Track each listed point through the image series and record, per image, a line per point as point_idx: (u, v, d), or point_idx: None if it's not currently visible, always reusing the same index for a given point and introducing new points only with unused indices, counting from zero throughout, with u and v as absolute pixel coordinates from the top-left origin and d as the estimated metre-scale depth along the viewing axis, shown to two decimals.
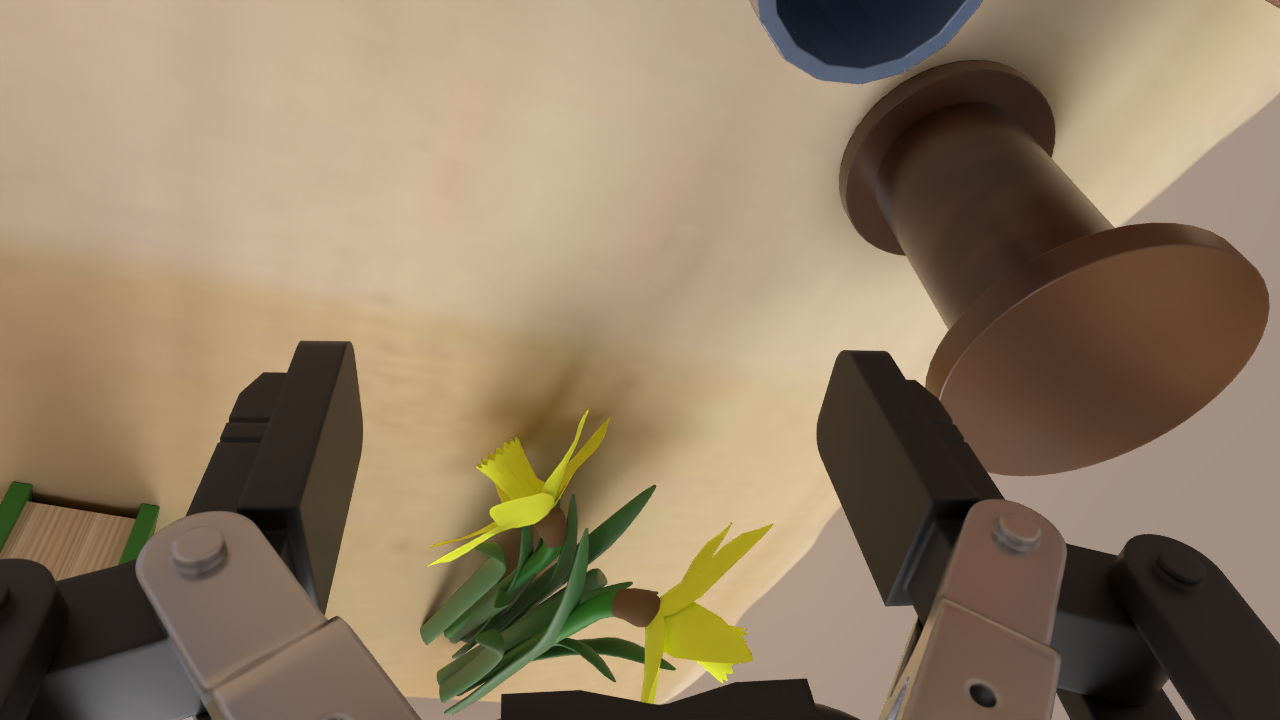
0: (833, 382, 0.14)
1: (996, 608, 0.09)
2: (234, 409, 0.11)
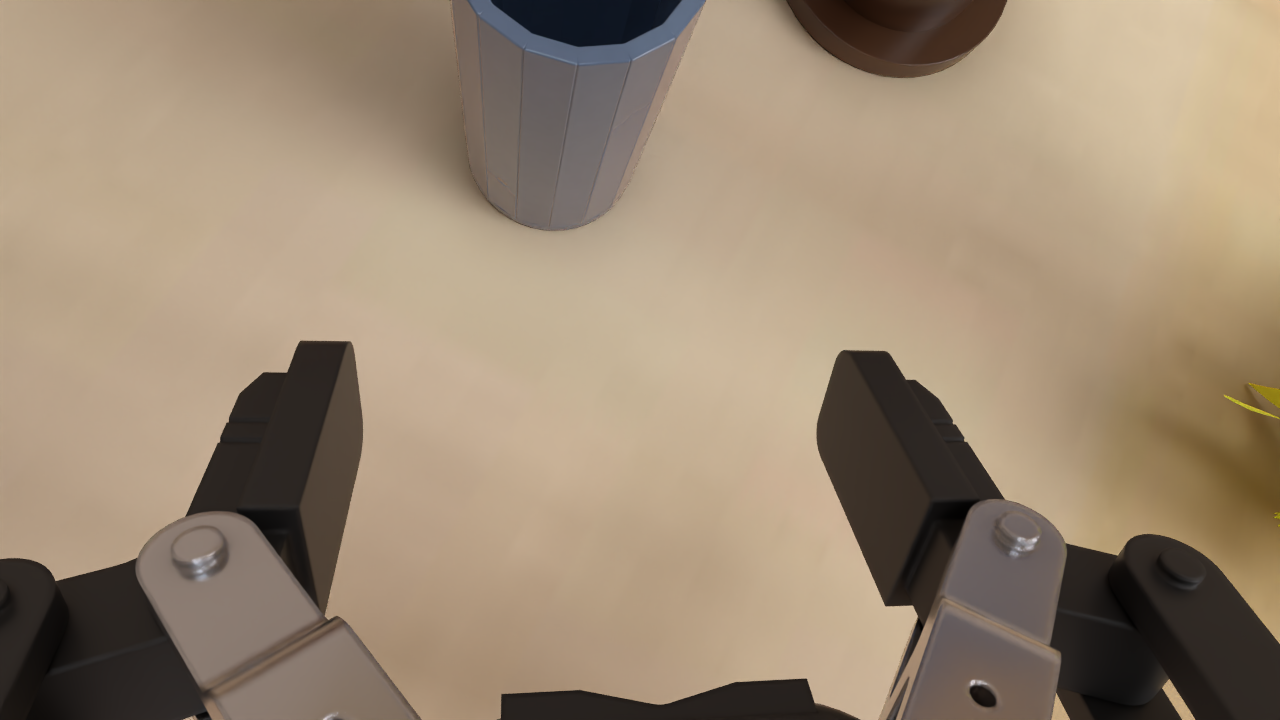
0: (833, 382, 0.14)
1: (996, 608, 0.09)
2: (234, 409, 0.11)
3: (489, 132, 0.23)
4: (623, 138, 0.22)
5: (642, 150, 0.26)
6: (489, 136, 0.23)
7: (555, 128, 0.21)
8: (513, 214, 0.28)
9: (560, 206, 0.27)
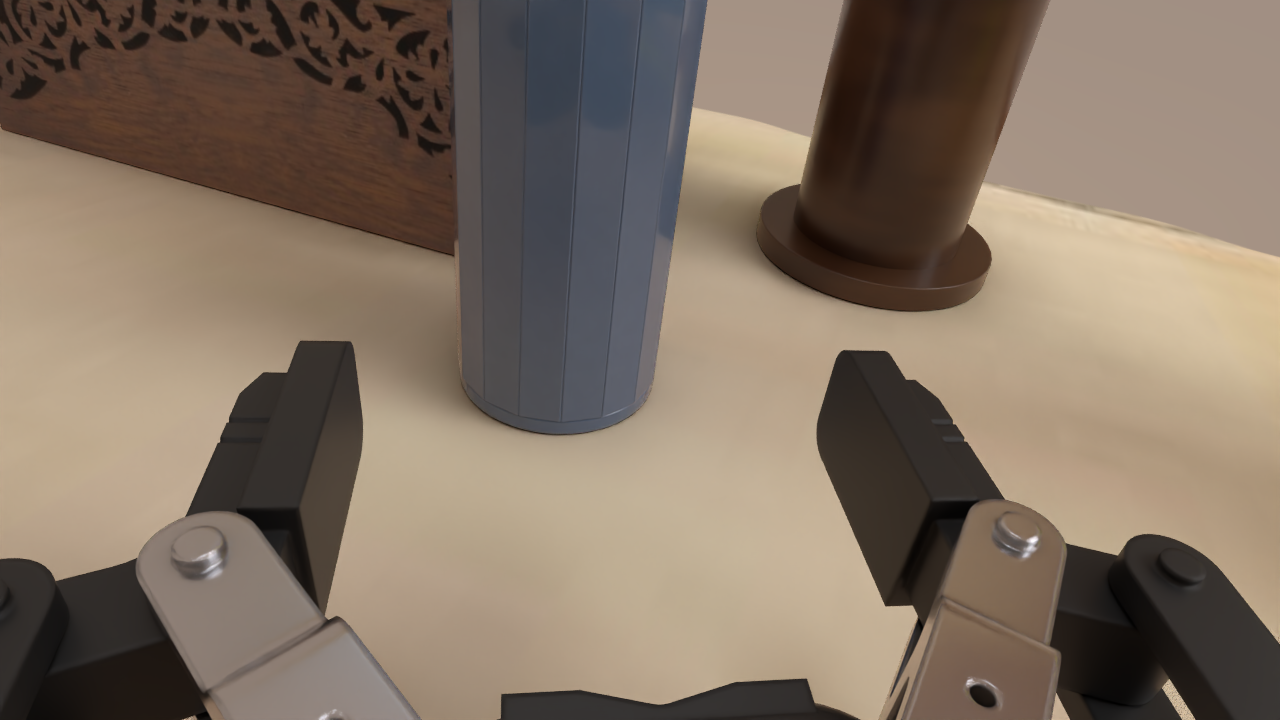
0: (833, 382, 0.14)
1: (996, 608, 0.09)
2: (234, 409, 0.11)
3: (488, 217, 0.20)
4: (642, 194, 0.20)
5: (664, 295, 0.23)
6: (488, 227, 0.20)
7: (565, 142, 0.18)
8: (515, 406, 0.23)
9: (574, 358, 0.22)
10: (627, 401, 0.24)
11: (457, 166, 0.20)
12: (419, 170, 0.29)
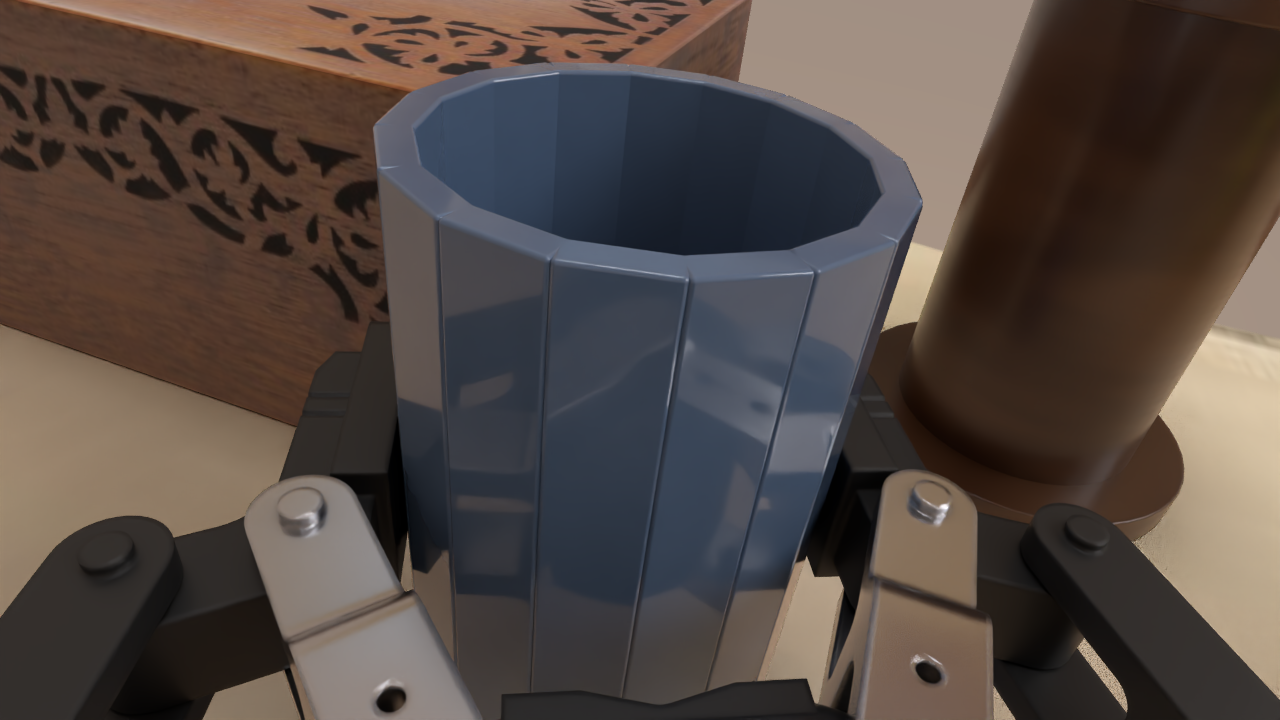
0: None
1: (923, 579, 0.09)
2: (311, 384, 0.12)
3: (465, 625, 0.10)
4: (761, 590, 0.10)
5: (769, 666, 0.13)
6: (465, 638, 0.11)
7: (621, 548, 0.09)
8: None
9: None
10: None
11: (408, 519, 0.11)
12: None
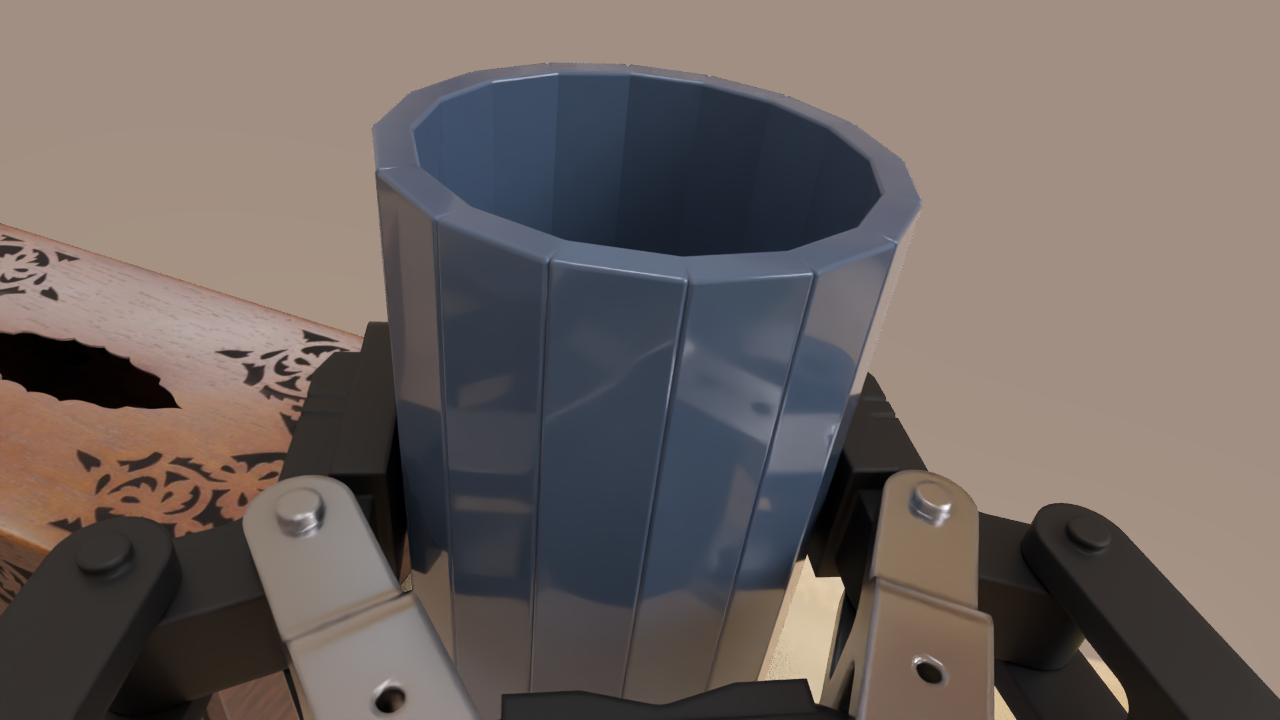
0: None
1: (924, 579, 0.09)
2: (310, 384, 0.12)
3: (464, 626, 0.10)
4: (761, 591, 0.10)
5: (768, 667, 0.13)
6: (464, 639, 0.11)
7: (620, 549, 0.09)
8: None
9: None
10: None
11: (407, 520, 0.11)
12: None
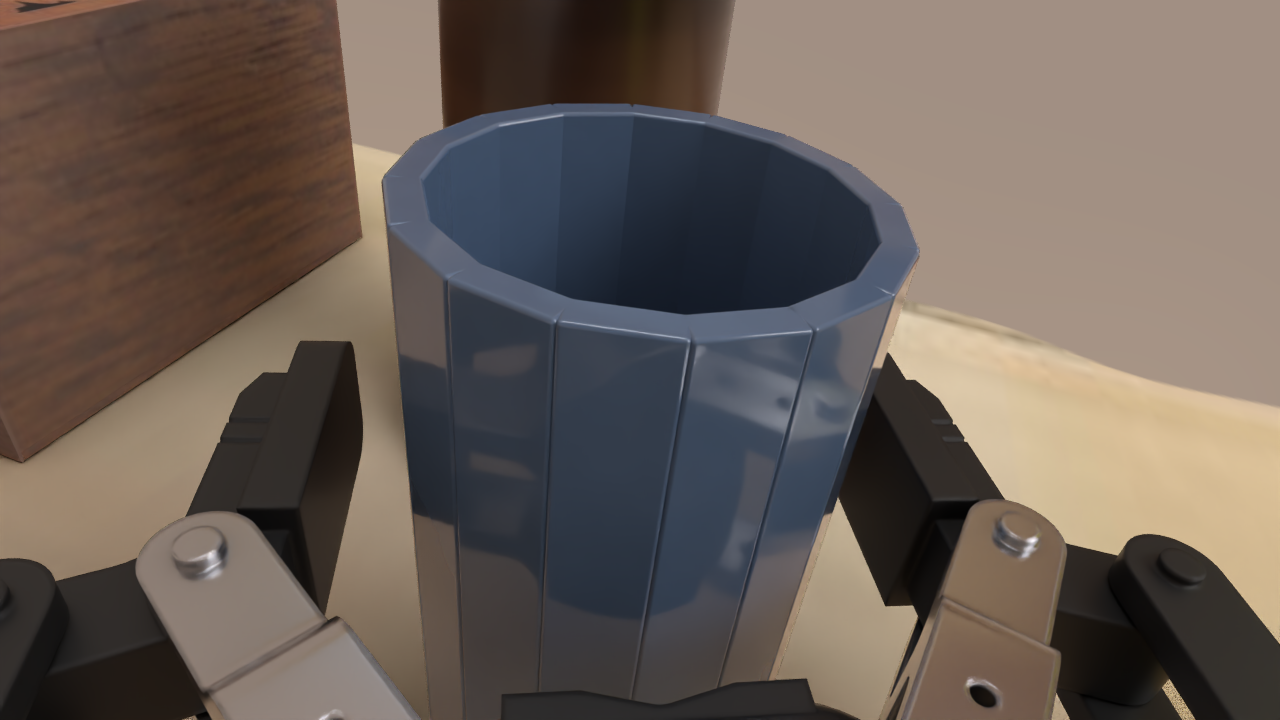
0: None
1: (996, 608, 0.09)
2: (233, 409, 0.11)
3: (472, 658, 0.11)
4: (763, 624, 0.10)
5: None
6: (472, 671, 0.11)
7: (625, 590, 0.09)
8: None
9: None
10: None
11: (417, 554, 0.11)
12: None
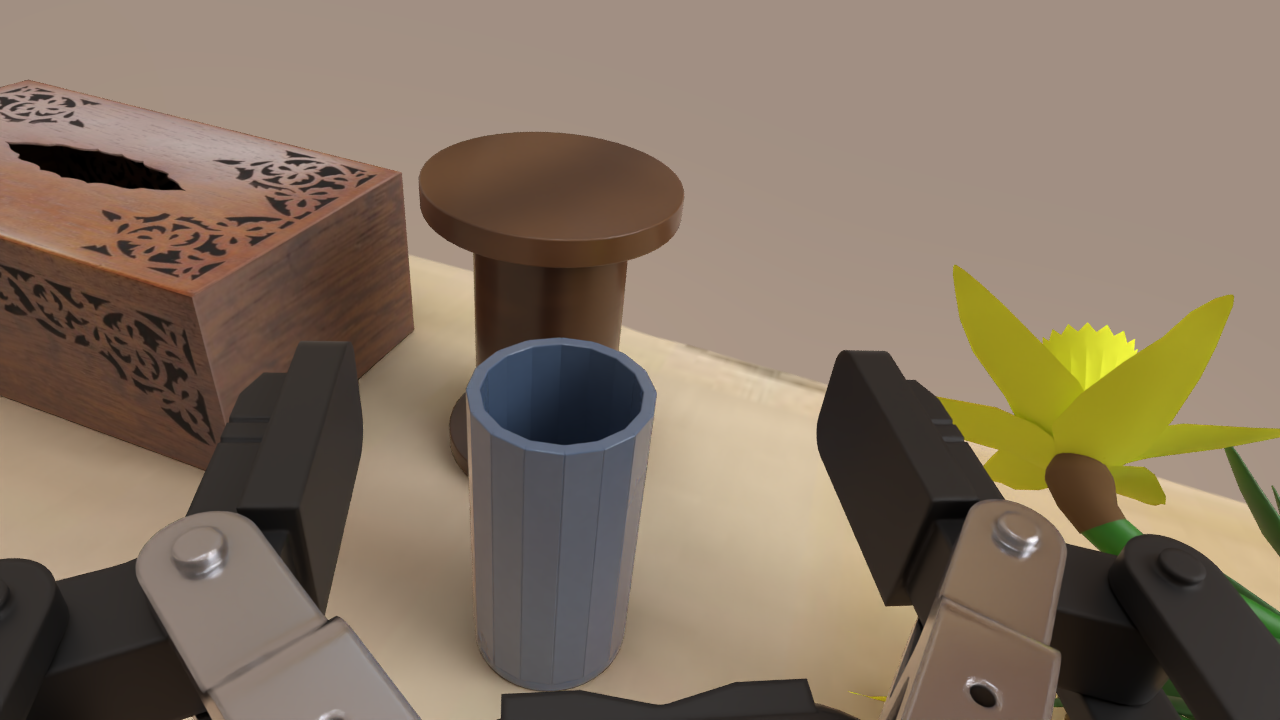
0: (833, 382, 0.14)
1: (996, 608, 0.09)
2: (234, 409, 0.11)
3: (497, 564, 0.27)
4: (608, 550, 0.27)
5: (629, 588, 0.30)
6: (496, 570, 0.27)
7: (551, 533, 0.26)
8: (517, 674, 0.30)
9: (561, 647, 0.29)
10: (602, 662, 0.31)
11: (474, 524, 0.28)
12: (141, 400, 0.37)
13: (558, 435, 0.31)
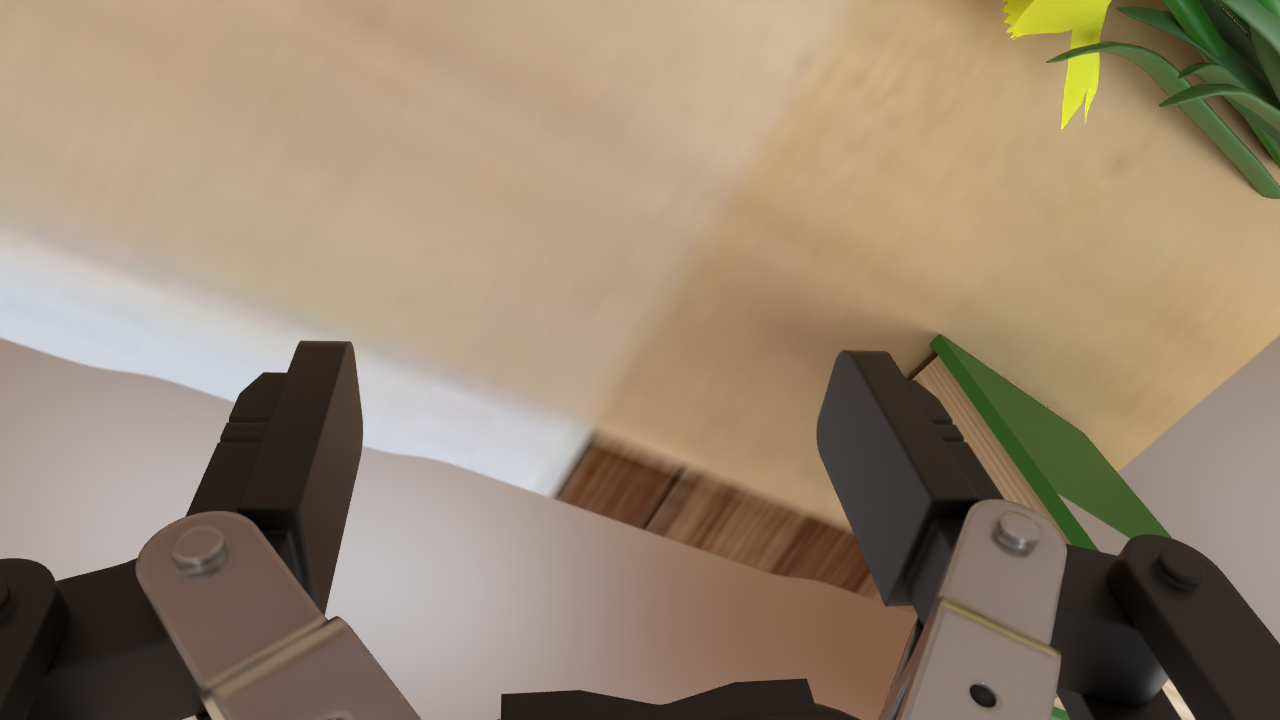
0: (833, 382, 0.14)
1: (996, 608, 0.09)
2: (234, 409, 0.11)
3: None
4: None
5: None
6: None
7: None
8: None
9: None
10: None
11: None
12: None
13: None
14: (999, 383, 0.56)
